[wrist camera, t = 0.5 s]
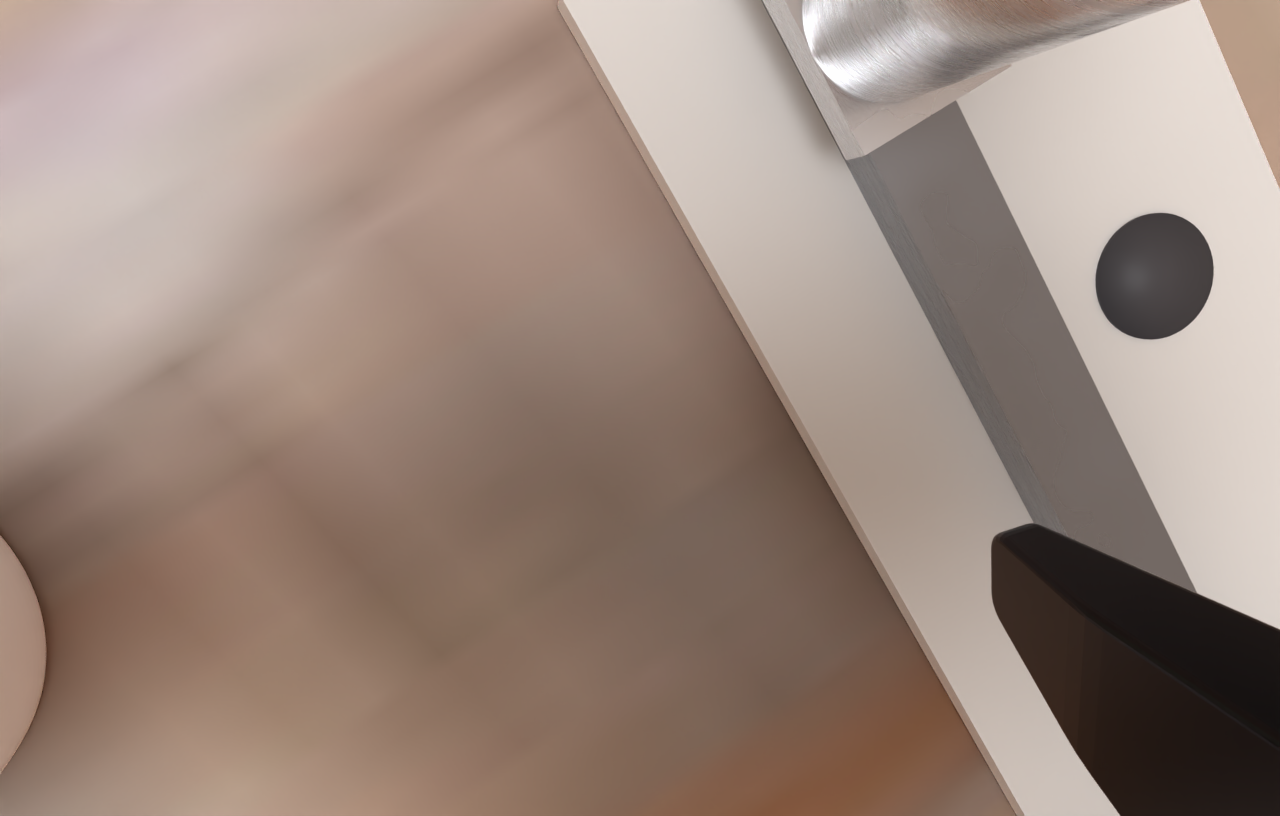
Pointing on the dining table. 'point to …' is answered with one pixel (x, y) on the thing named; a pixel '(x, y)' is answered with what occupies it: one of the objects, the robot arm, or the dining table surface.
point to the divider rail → (1009, 340)
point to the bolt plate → (912, 355)
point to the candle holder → (18, 653)
